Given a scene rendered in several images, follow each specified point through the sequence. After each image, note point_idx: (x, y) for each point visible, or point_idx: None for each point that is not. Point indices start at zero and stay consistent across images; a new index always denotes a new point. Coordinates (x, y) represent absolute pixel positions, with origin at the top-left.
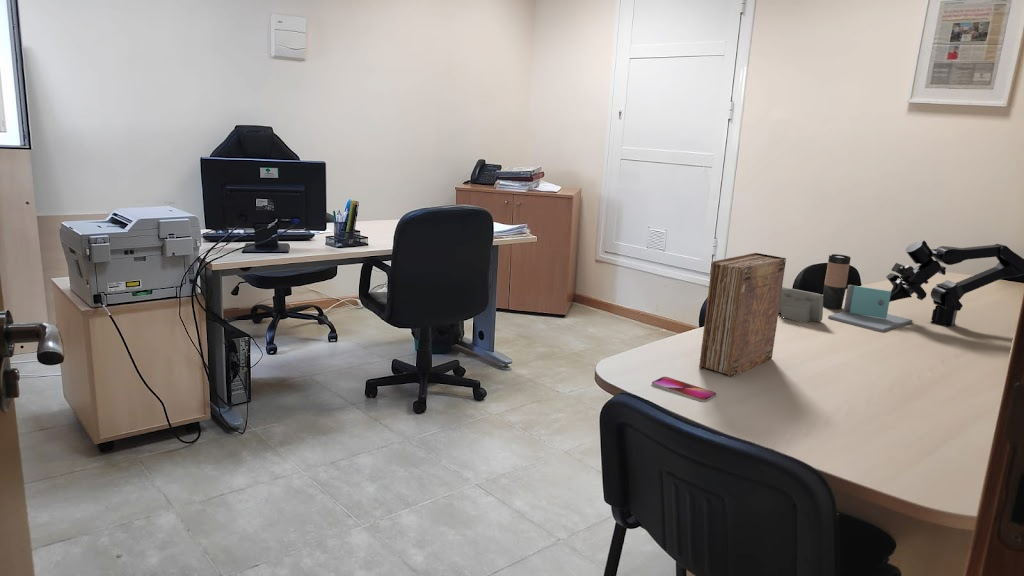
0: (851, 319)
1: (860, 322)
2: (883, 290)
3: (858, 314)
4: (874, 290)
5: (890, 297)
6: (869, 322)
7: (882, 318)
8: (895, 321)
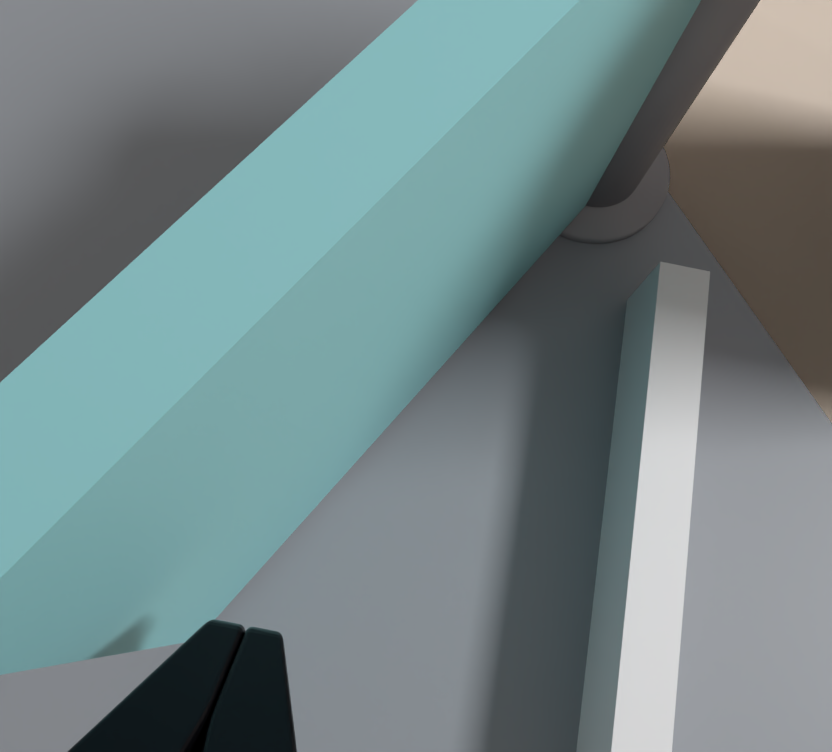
0: (214, 9)
1: (48, 34)
2: (72, 323)
3: (502, 305)
4: (336, 113)
5: (102, 743)
6: (29, 168)
7: (249, 592)
8: (25, 726)
